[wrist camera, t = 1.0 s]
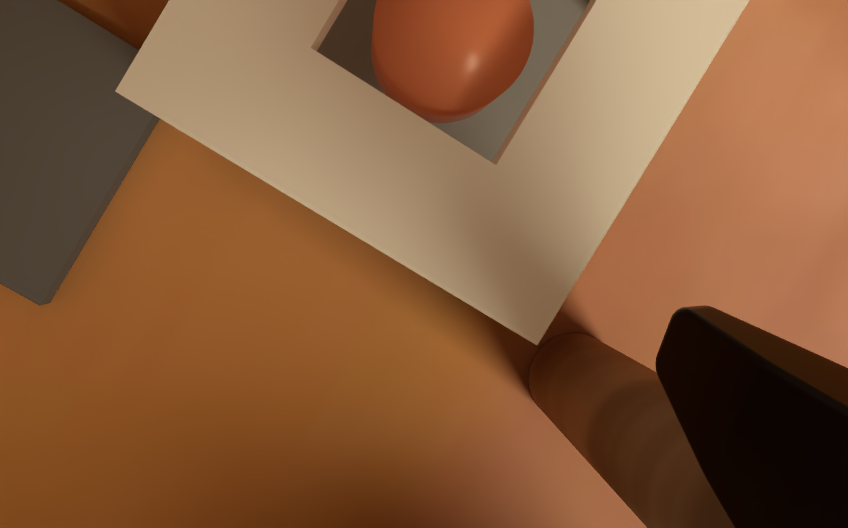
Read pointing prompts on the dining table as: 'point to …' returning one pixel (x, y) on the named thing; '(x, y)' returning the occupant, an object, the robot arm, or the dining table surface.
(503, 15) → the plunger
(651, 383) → the cylinder
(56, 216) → the pad
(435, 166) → the guard
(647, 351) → the dining table surface
